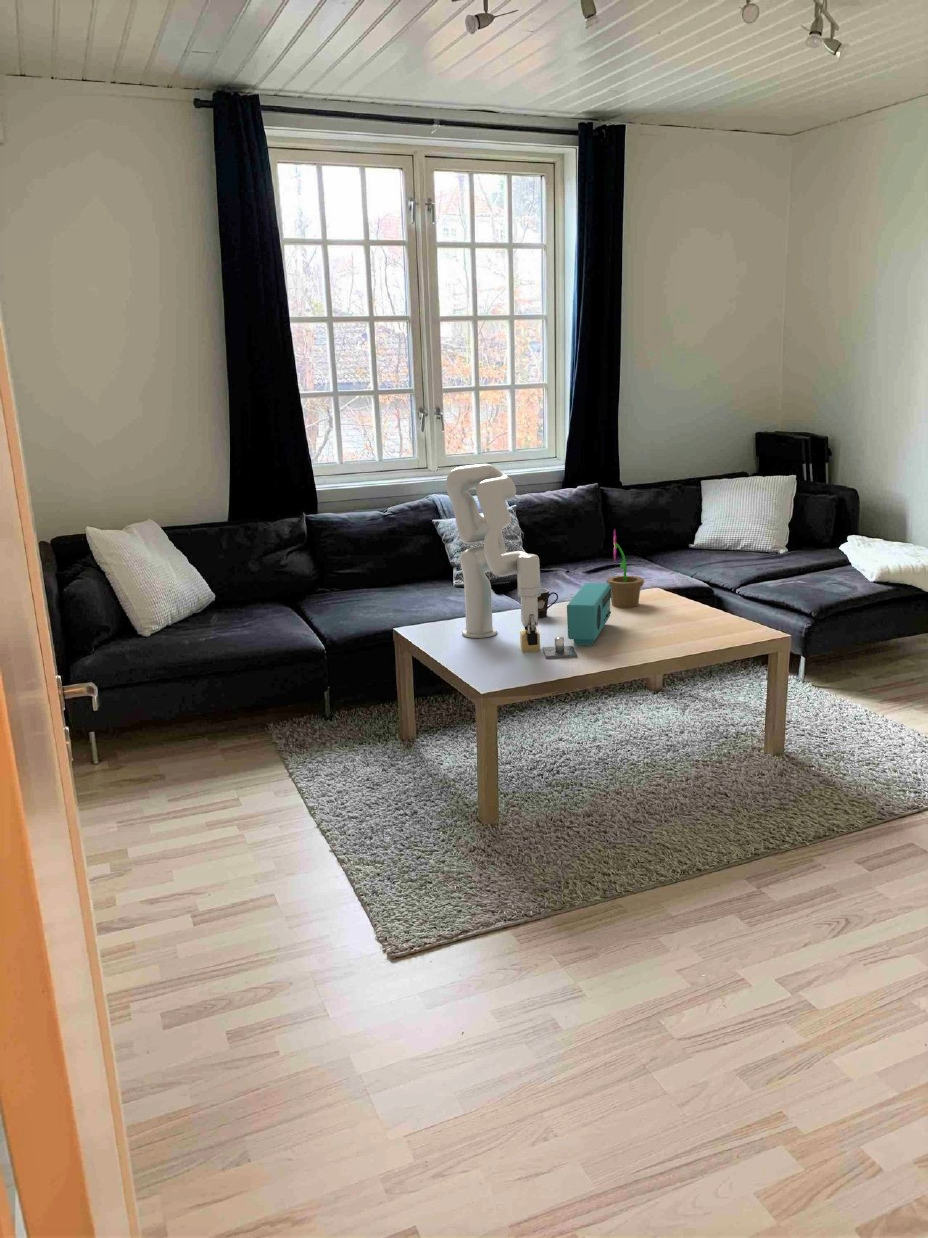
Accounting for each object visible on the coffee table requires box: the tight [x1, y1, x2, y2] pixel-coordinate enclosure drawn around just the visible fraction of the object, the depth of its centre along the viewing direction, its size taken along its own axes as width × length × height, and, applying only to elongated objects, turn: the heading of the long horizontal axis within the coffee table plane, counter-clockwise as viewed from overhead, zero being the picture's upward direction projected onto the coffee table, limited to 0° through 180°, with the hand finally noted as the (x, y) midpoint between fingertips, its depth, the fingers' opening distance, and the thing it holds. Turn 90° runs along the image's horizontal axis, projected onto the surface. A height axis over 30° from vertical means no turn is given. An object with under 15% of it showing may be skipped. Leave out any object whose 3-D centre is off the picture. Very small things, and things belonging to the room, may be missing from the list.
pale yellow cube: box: [519, 628, 541, 653], centre depth 321 cm, size 6×6×6 cm
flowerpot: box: [606, 528, 645, 609], centre depth 371 cm, size 14×14×30 cm
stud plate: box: [542, 636, 578, 660], centre depth 315 cm, size 10×10×5 cm
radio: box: [566, 582, 612, 647], centre depth 334 cm, size 34×10×15 cm, turn 163°
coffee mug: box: [537, 587, 559, 619], centre depth 362 cm, size 12×9×10 cm
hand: (531, 641), depth 321 cm, fingers open, 9 cm apart
